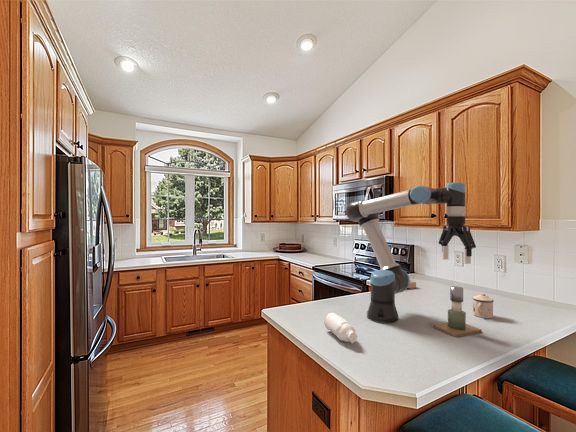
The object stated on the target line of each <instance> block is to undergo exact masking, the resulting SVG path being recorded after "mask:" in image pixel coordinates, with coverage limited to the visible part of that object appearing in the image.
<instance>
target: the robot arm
mask: <svg viewBox="0 0 576 432" xmlns="http://www.w3.org/2000/svg"><path fill="white" fill-rule="evenodd" d="M466 193H467V192H466V185H465V183H464V182H461V181H460V182H458V181H457V182H448V183H447V184H446V186H445V187H438V188H434V187H428V186H425V185H417V186H415V187H413V188H411V189H407V190H402V191H399V192H395V193H391V194H388V195H384V196H380V197H376V198H371V199H368V200H364V199H360V200H355V201H351V202H350V203H348V205H346V208H345V214H346V216H347V218H348V219H349V220H350V221H352V222H355V223H358V225H359V227H360V228H361V229H363V230H364V232H365V235H366V238H367V241H369V244H370V246H371V248H372V251H373V253H374V256H375V259H376V261H377V262H378V265H379V267H380V269H379V270H374V271H372V273H371V274H370V280H369V281H370V303H369V305H368V309H367V311H366V318H367V319H369V320H370V319H371V320H370V321H372V320H373V322H376V323H382V324H394V323H397V322H398V321H399V312H398V309H397V307H396V304H395V300H396V299H395V297H396V296H395V295H397V294H401V293H403V292H405V291H406V290H408V289H407V288H408V286H409V284H410V281H411V279H410V276H409V274H408V273H407V271H405V270H403V268H402V266H401V264H399V263H397V262H396V261H395V258H394V256H393V253H392V251H391V249H390V247H389V244H388V242H387V240H386V238H385V235H384V234H383V231H382V229H381V227H380V225H379V222H380V217H379V215H380V213H383V212H387V211H391V210H395V209H396V210H397V209H400V208H405V207H410V206H415V205H419V204H422V205H437V204H439V205H440V204H446V224H447V225H443V227H442V232H441V235H440V237H439V241H438V244H439V245H440V246H441V252H442V256H441V257H442V260H449V243H450V242H451V240H452V239H453V237H458V238H459V239H460V241H461V243H462V244H463V247H464V249H463V263H464V264H465V265H470V264H472V262H471V261H472V258H471V257H472V255H473V254H472V249H476V247H477V246H476V243H475V241H474V238H473V235H472V232H471V227H470V226H465V224H466Z"/></svg>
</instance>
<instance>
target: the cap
mask: <svg viewBox="0 0 576 432" xmlns="http://www.w3.org/2000/svg"><path fill="white" fill-rule="evenodd" d="M449 291H450V292H449V301H451V302H452V301H454V302H462V303H464V287H462V286H459V285H458V286H457V285H455V286H454V285H452V286H451V285H450V287H449Z"/></svg>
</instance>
